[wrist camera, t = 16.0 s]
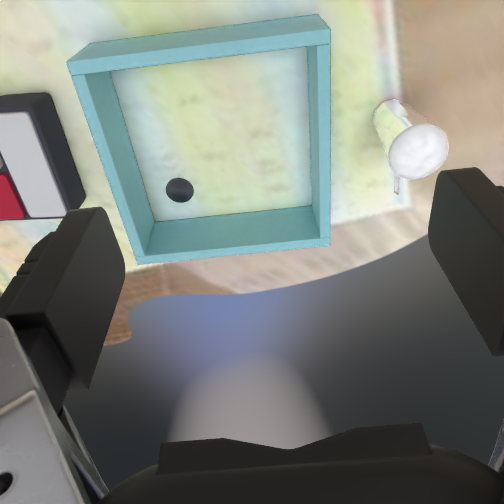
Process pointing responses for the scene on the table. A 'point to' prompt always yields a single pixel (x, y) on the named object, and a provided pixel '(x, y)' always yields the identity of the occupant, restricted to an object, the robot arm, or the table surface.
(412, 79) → the table surface
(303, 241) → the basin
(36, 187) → the red and gray box
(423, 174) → the milkshake
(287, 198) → the table surface
